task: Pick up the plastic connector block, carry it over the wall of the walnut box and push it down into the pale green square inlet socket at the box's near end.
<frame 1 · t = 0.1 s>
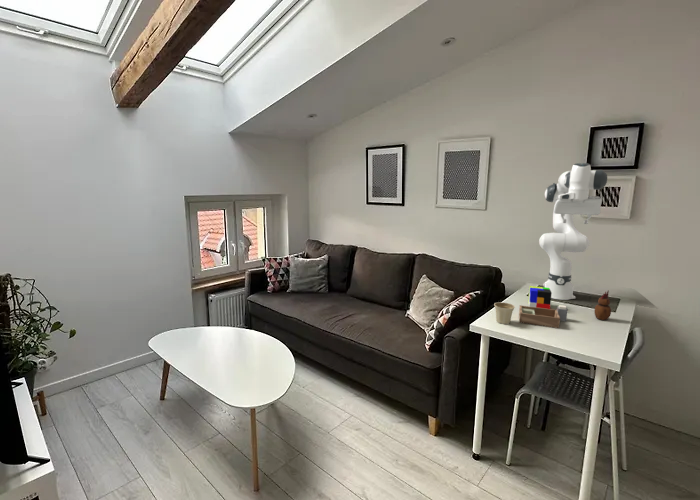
hand: (574, 223, 184), 48 cm above the table, fingers open, 8 cm apart
wooden figurine: (601, 319, 184), on the table
flower pot: (502, 322, 179), on the table
puzzle toy: (538, 306, 203), on the table
walled box: (537, 321, 181), on the table
connector: (561, 319, 183), on the table
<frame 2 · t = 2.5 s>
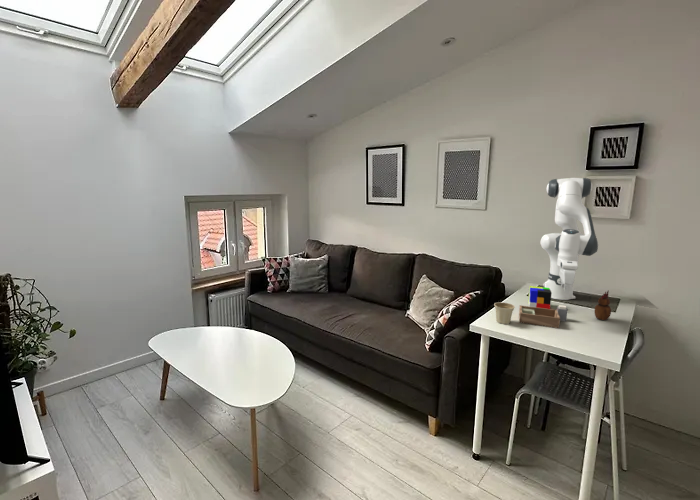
hand: (564, 289, 180), 16 cm above the table, fingers open, 8 cm apart
nothing on the table moved.
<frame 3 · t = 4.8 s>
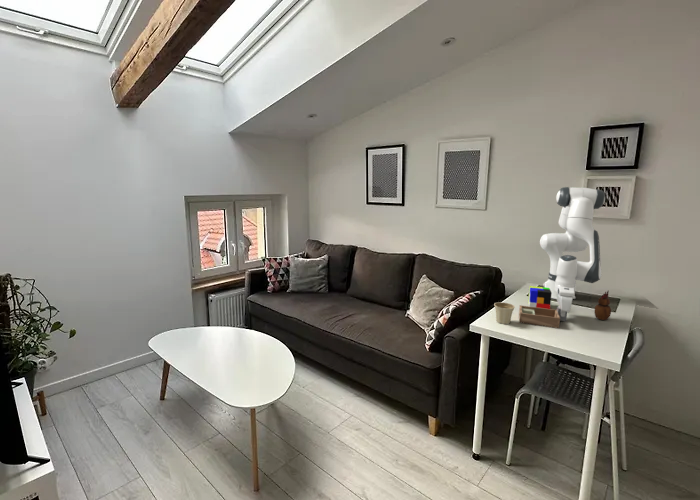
hand: (561, 314, 183), 3 cm above the table, fingers closed on connector, 4 cm apart
connector: (561, 319, 183), on the table, touching gripper
everything else where it was.
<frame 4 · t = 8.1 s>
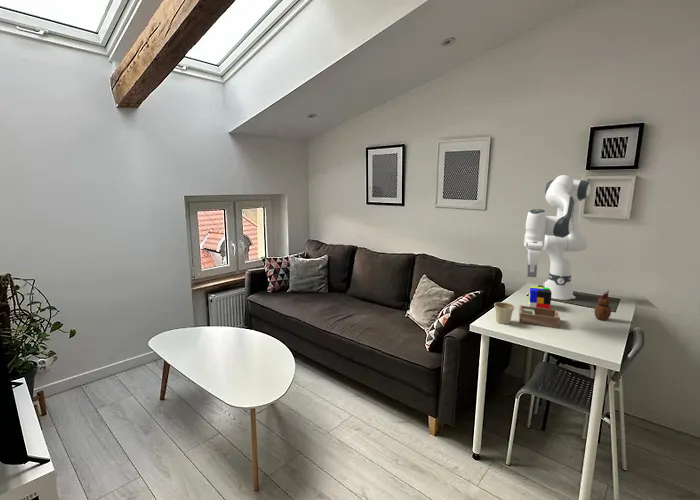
hand: (531, 270, 178), 25 cm above the table, fingers closed on connector, 4 cm apart
connector: (531, 276, 178), point 23 cm above the table, touching gripper
everything else where it was.
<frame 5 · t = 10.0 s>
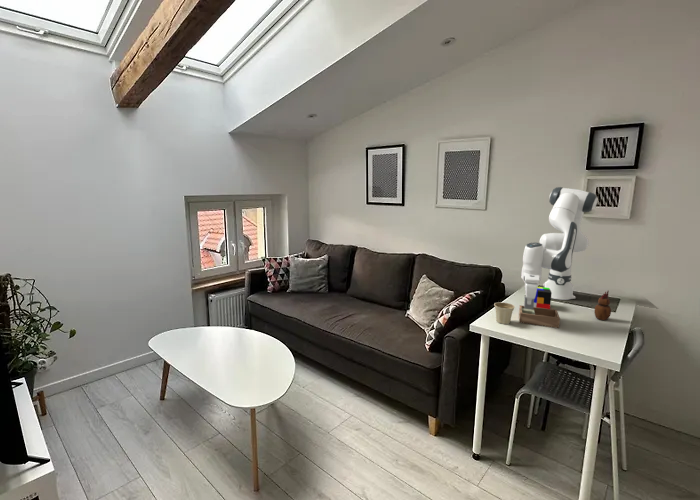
hand: (528, 302, 181), 9 cm above the table, fingers closed on connector, 4 cm apart
connector: (528, 307, 181), point 6 cm above the table, touching gripper
everything else where it was.
when the fingers open (5 cm above the table, at t = 11.6 s): connector drops 1 cm, resting on walled box.
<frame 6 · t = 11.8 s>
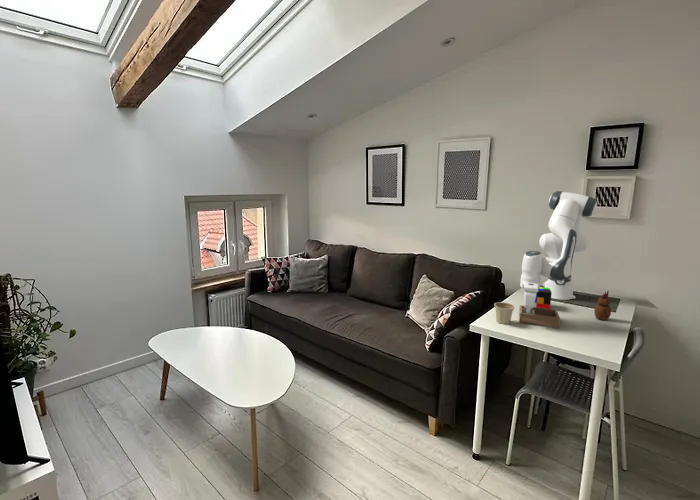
hand: (527, 310, 182), 5 cm above the table, fingers open, 6 cm apart
connector: (527, 318, 182), point 1 cm above the table, touching walled box
everything else where it was.
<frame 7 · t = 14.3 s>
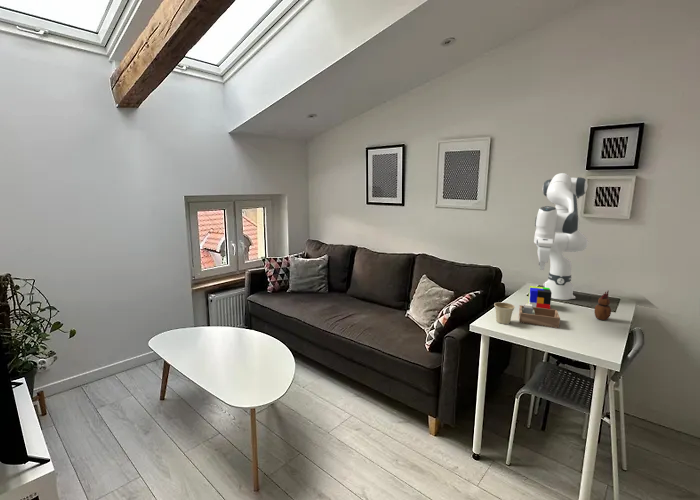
hand: (541, 267, 179), 27 cm above the table, fingers open, 8 cm apart
nothing on the table moved.
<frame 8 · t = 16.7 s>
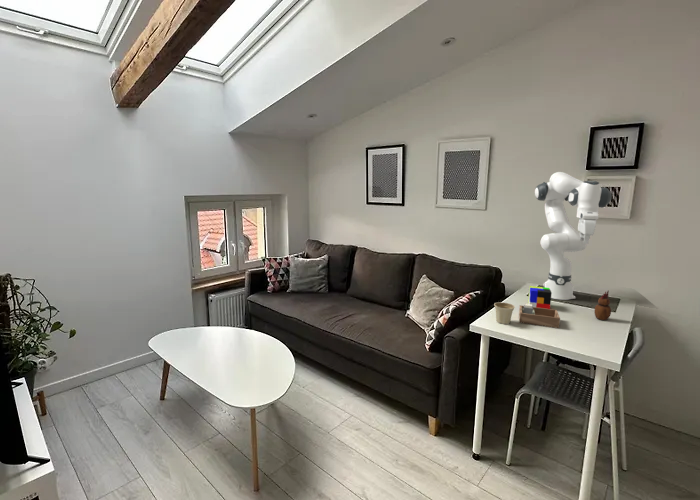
hand: (583, 242, 180), 39 cm above the table, fingers open, 8 cm apart
nothing on the table moved.
at the end: connector 0.3 cm from the target spot on the walled box, point 0.8 cm above the walled box's base; connector tilted 0°; the gripper is holding nothing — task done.
